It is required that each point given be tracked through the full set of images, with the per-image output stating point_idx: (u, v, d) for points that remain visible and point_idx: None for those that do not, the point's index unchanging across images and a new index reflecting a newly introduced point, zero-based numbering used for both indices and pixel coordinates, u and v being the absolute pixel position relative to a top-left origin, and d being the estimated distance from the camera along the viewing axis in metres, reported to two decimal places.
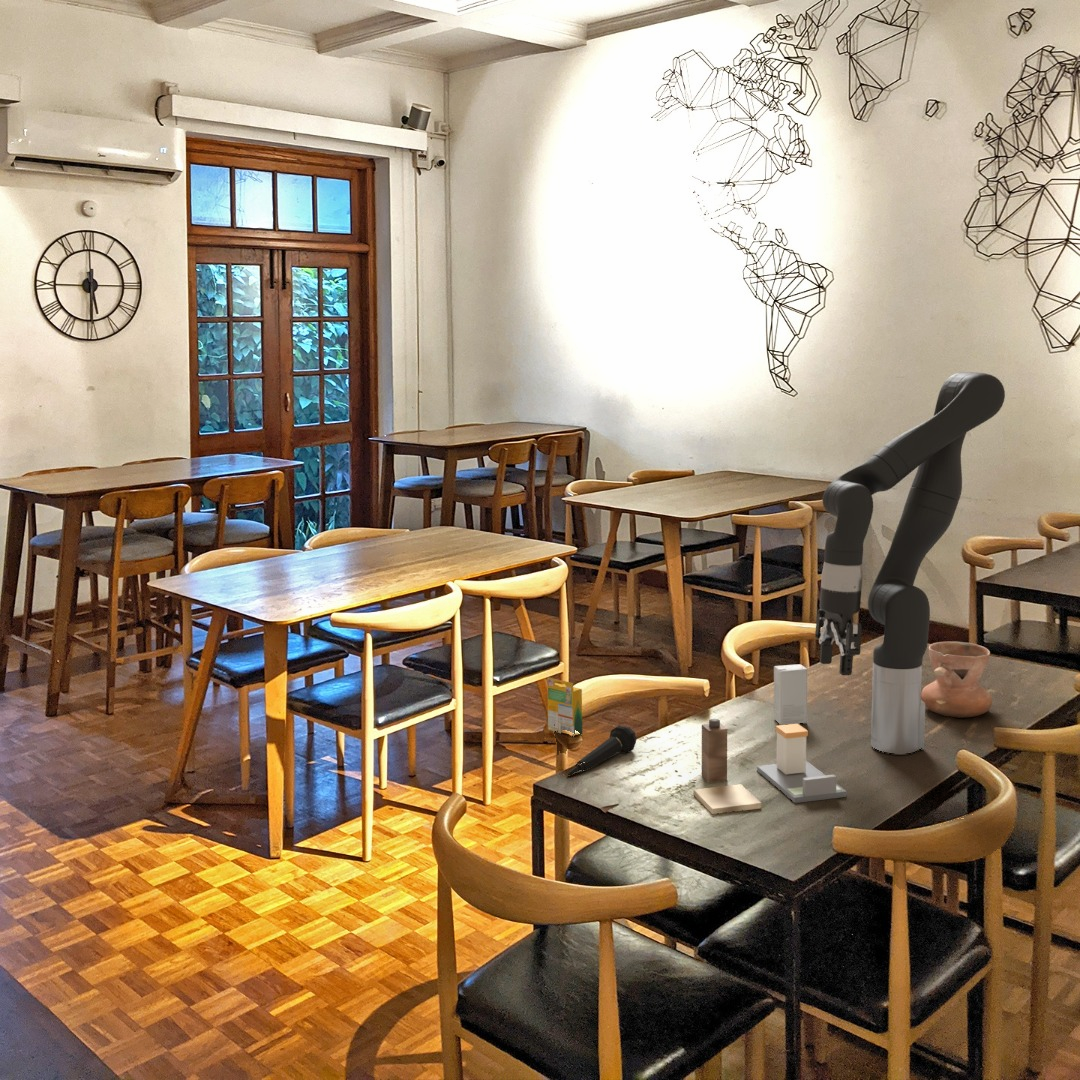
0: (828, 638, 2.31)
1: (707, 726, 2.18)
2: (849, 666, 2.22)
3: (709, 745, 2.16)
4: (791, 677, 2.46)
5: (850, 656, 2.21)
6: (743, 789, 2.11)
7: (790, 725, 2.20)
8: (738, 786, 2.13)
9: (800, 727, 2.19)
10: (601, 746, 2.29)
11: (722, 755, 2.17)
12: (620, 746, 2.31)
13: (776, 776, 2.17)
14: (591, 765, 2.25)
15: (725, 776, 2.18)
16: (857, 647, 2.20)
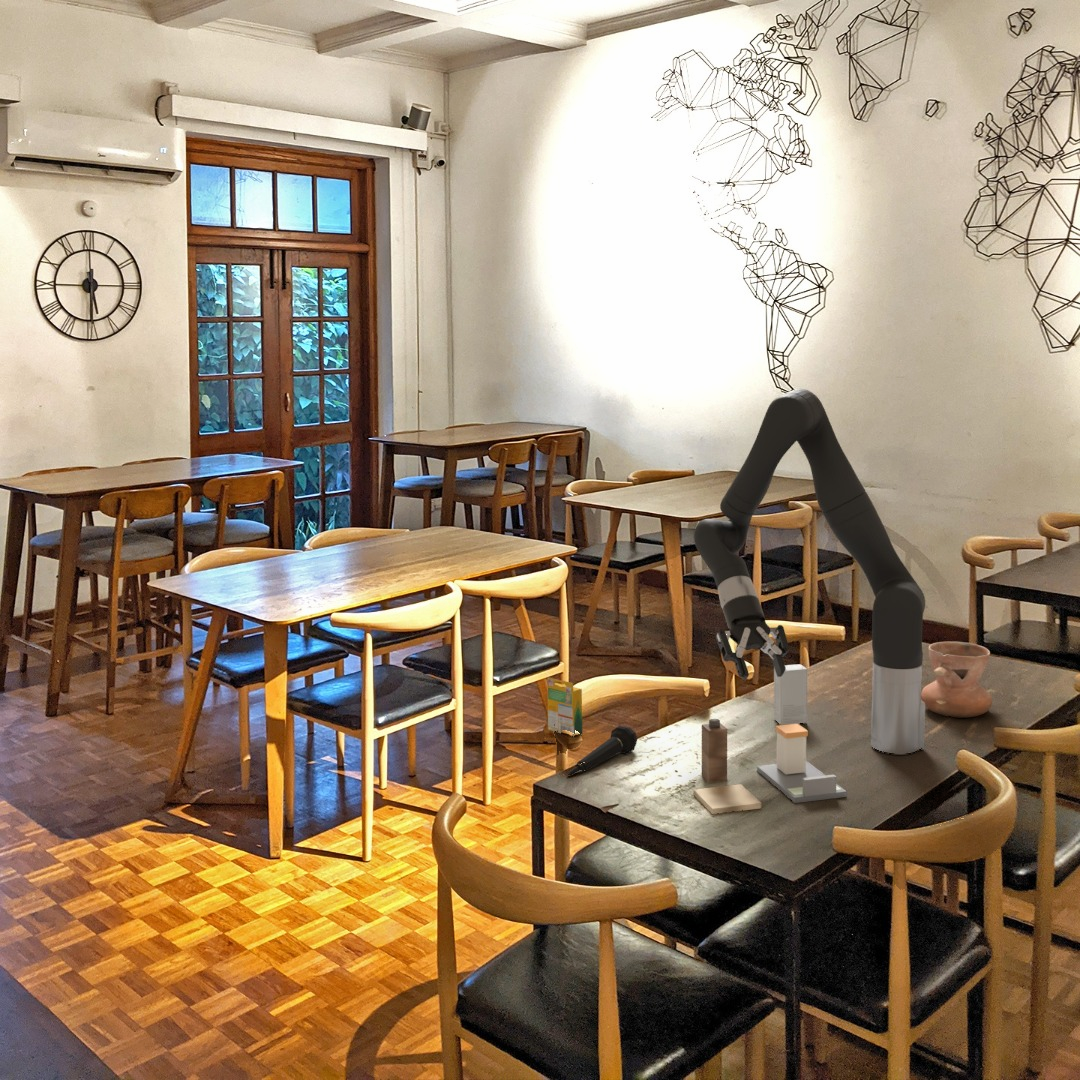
0: None
1: (707, 726, 2.18)
2: (738, 669, 2.29)
3: (709, 745, 2.16)
4: (791, 677, 2.46)
5: (734, 660, 2.30)
6: (743, 789, 2.11)
7: (790, 725, 2.20)
8: (738, 786, 2.13)
9: (800, 727, 2.19)
10: (602, 746, 2.29)
11: (722, 755, 2.17)
12: (621, 746, 2.31)
13: (776, 776, 2.17)
14: (591, 765, 2.25)
15: (725, 776, 2.18)
16: None
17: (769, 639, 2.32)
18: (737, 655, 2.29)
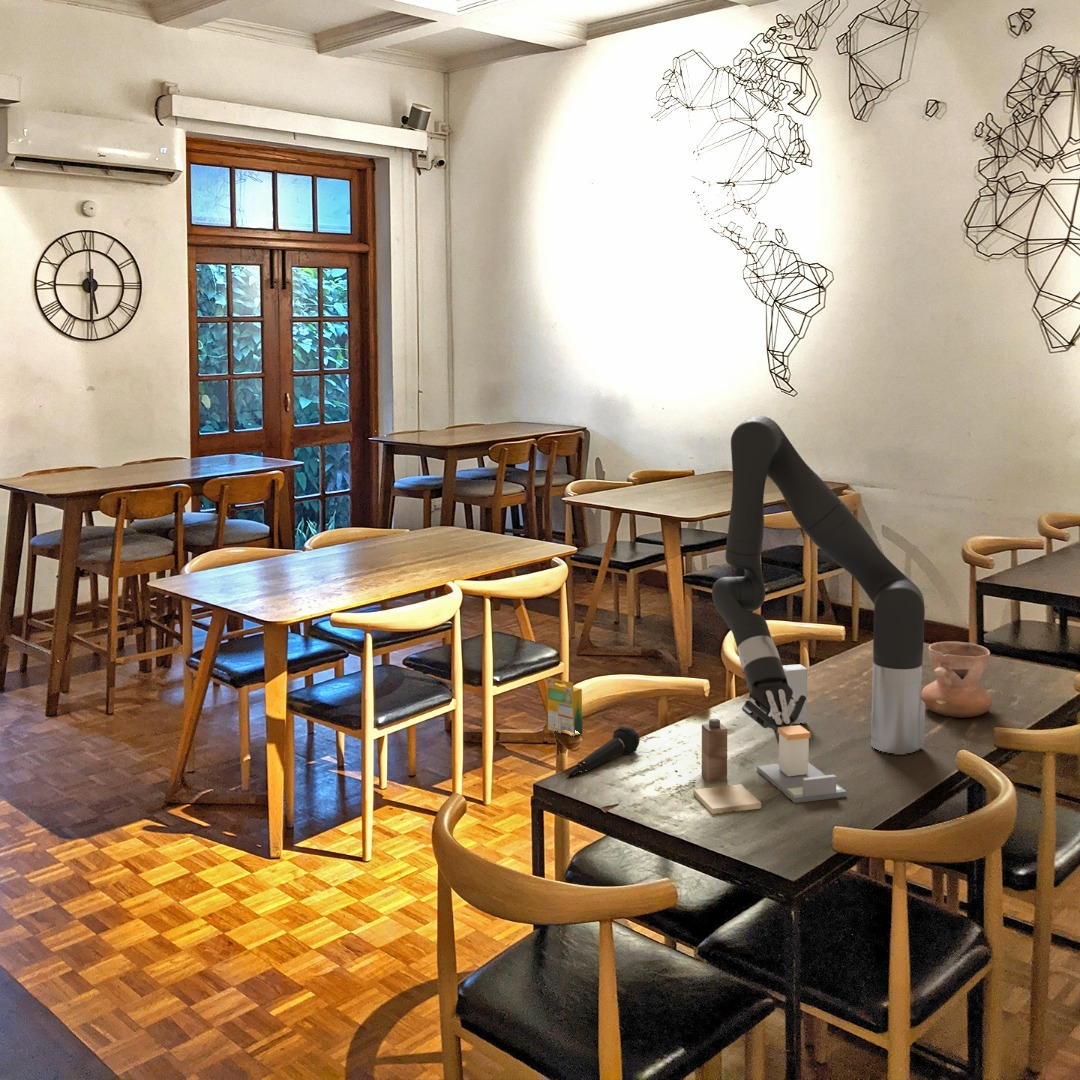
0: None
1: (707, 726, 2.18)
2: (778, 736, 2.21)
3: (709, 745, 2.16)
4: (791, 677, 2.46)
5: (773, 727, 2.22)
6: (743, 789, 2.11)
7: (792, 727, 2.19)
8: (738, 786, 2.13)
9: (802, 729, 2.18)
10: (603, 747, 2.29)
11: (722, 755, 2.17)
12: (622, 747, 2.30)
13: (776, 776, 2.17)
14: (592, 766, 2.25)
15: (725, 776, 2.18)
16: None
17: (785, 705, 2.24)
18: (777, 723, 2.22)
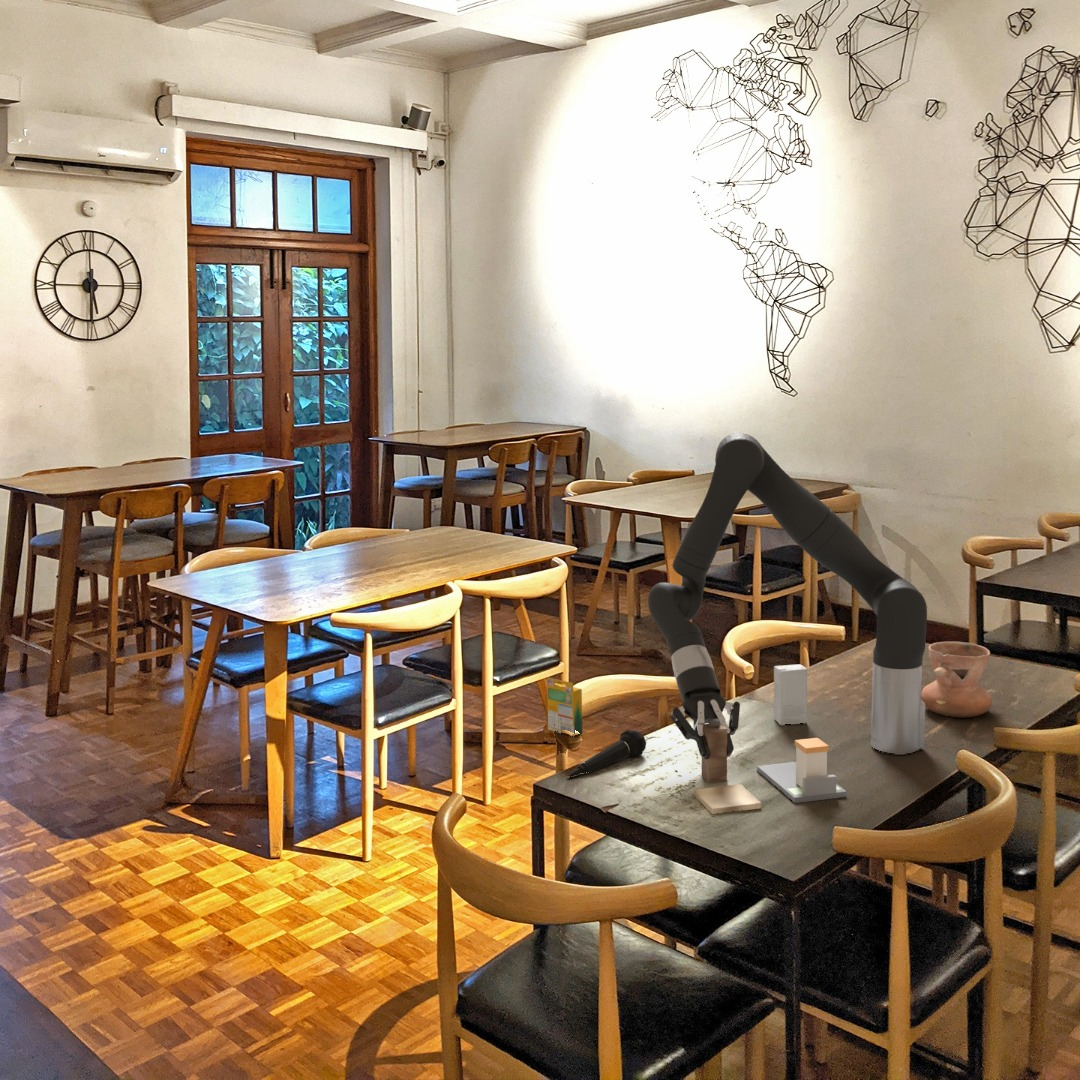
0: None
1: (707, 726, 2.18)
2: (700, 748, 2.17)
3: (709, 745, 2.16)
4: (791, 677, 2.46)
5: (696, 738, 2.18)
6: (743, 789, 2.11)
7: (810, 739, 2.12)
8: (738, 786, 2.13)
9: (820, 741, 2.11)
10: (607, 749, 2.27)
11: (722, 755, 2.17)
12: (627, 750, 2.29)
13: (776, 776, 2.17)
14: (594, 768, 2.24)
15: (725, 776, 2.18)
16: None
17: (720, 715, 2.20)
18: (699, 734, 2.18)
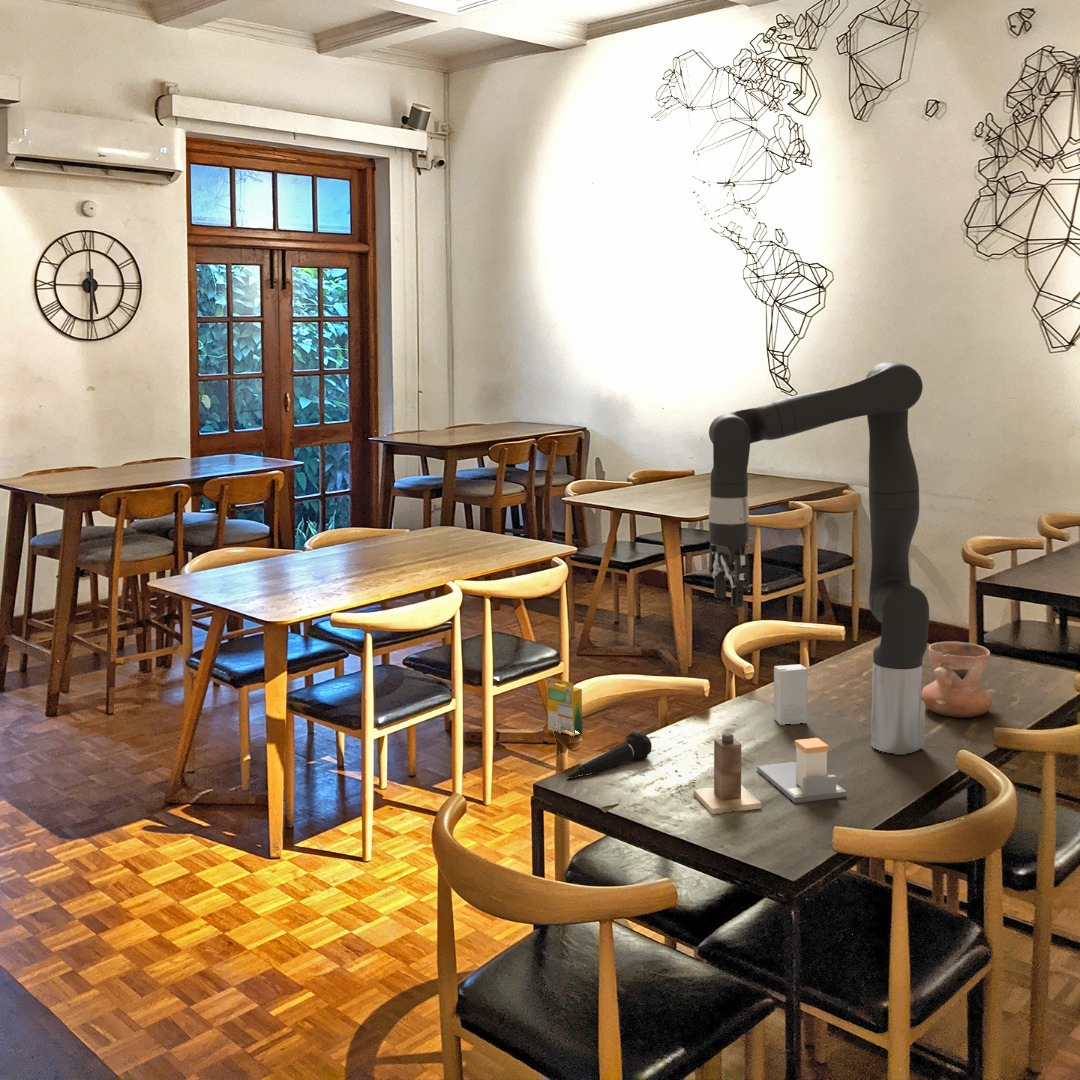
0: (721, 572, 2.32)
1: (720, 741, 2.07)
2: (740, 598, 2.23)
3: (723, 761, 2.05)
4: (791, 677, 2.46)
5: (740, 588, 2.23)
6: (743, 789, 2.11)
7: (810, 739, 2.12)
8: None
9: (820, 741, 2.11)
10: (610, 751, 2.26)
11: (736, 772, 2.06)
12: (631, 753, 2.27)
13: (776, 776, 2.17)
14: (595, 770, 2.23)
15: (739, 794, 2.07)
16: (746, 578, 2.21)
17: None
18: None
